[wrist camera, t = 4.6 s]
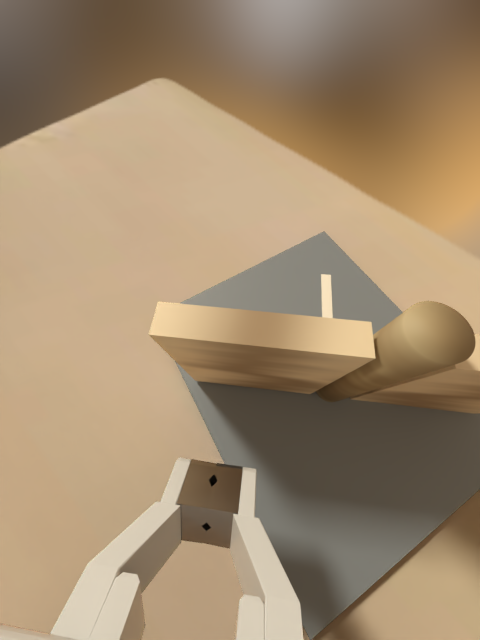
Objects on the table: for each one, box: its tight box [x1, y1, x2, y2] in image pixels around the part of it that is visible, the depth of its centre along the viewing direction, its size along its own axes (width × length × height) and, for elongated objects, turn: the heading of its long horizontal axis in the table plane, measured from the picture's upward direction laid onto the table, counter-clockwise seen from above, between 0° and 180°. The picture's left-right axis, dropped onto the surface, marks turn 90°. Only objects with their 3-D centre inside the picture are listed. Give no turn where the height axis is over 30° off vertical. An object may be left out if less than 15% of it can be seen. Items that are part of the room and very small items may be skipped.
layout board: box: [175, 232, 480, 640], centre depth 15 cm, size 15×18×1 cm
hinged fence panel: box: [149, 302, 376, 394], centre depth 11 cm, size 7×1×8 cm, turn 83°
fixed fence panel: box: [316, 301, 480, 414], centre depth 10 cm, size 9×2×9 cm, turn 83°
